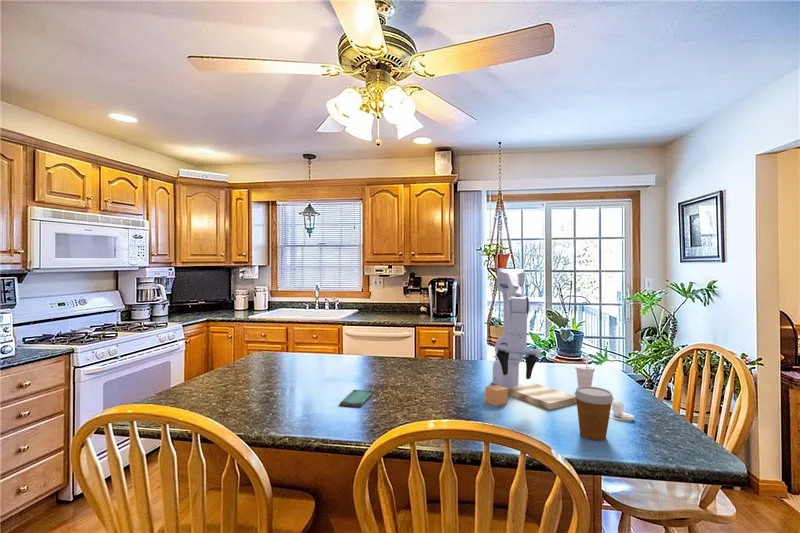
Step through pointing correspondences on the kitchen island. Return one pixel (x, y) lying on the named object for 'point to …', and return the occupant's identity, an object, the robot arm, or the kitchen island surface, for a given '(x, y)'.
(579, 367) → the smoothie
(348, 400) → the smartphone
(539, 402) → the base board
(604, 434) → the disposable coffee cup
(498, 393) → the block
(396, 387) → the kitchen island surface
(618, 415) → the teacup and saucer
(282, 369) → the kitchen island surface
